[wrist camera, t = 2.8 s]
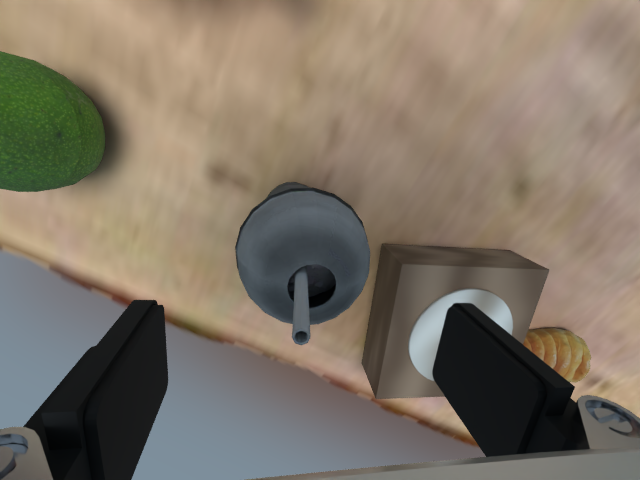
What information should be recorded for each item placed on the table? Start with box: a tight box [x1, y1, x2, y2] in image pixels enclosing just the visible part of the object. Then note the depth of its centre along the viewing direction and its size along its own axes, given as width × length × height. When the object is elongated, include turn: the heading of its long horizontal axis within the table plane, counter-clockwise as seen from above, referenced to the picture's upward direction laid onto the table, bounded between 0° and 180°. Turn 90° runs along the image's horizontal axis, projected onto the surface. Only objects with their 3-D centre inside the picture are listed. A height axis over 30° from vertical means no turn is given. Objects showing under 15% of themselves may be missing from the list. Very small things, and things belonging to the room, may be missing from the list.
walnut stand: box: [362, 244, 549, 399], centre depth 31 cm, size 14×14×5 cm
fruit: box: [0, 51, 105, 192], centre depth 18 cm, size 8×8×12 cm
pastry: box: [523, 328, 591, 383], centre depth 36 cm, size 9×7×4 cm
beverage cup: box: [235, 182, 370, 345], centre depth 18 cm, size 7×7×20 cm
